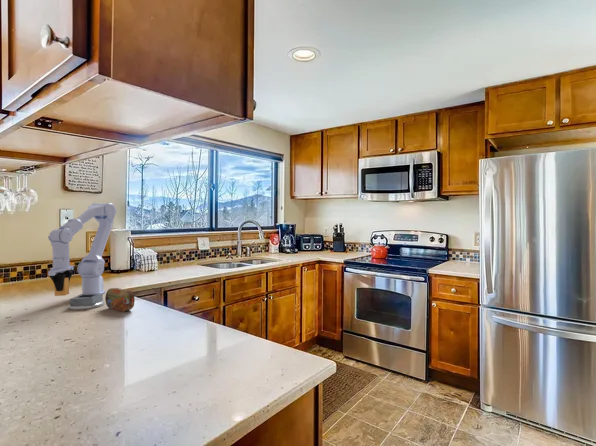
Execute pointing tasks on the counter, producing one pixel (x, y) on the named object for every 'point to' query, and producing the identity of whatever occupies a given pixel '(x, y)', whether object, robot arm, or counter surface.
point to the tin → (119, 299)
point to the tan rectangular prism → (65, 288)
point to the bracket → (86, 301)
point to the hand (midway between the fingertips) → (62, 289)
